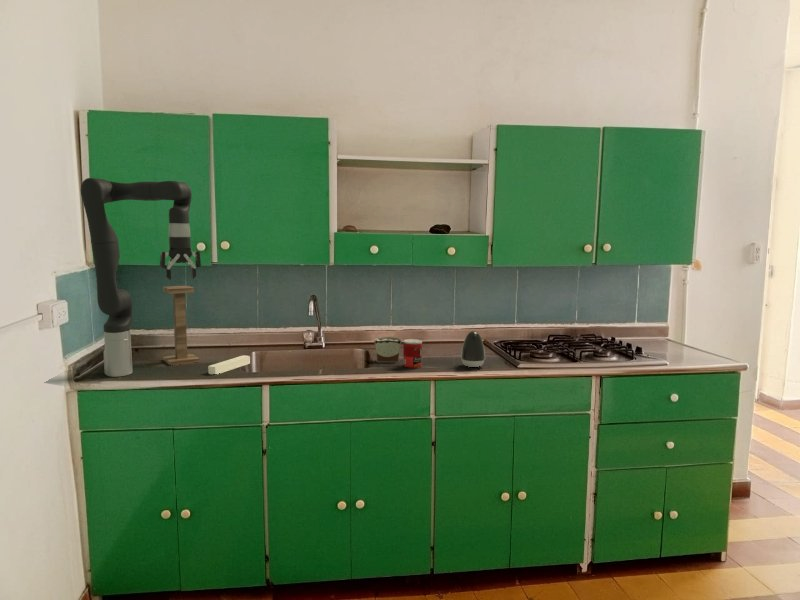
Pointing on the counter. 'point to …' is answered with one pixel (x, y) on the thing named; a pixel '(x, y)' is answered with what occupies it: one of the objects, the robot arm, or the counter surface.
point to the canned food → (412, 353)
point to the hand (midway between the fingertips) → (181, 278)
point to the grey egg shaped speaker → (473, 350)
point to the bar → (229, 364)
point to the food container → (387, 349)
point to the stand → (180, 326)
